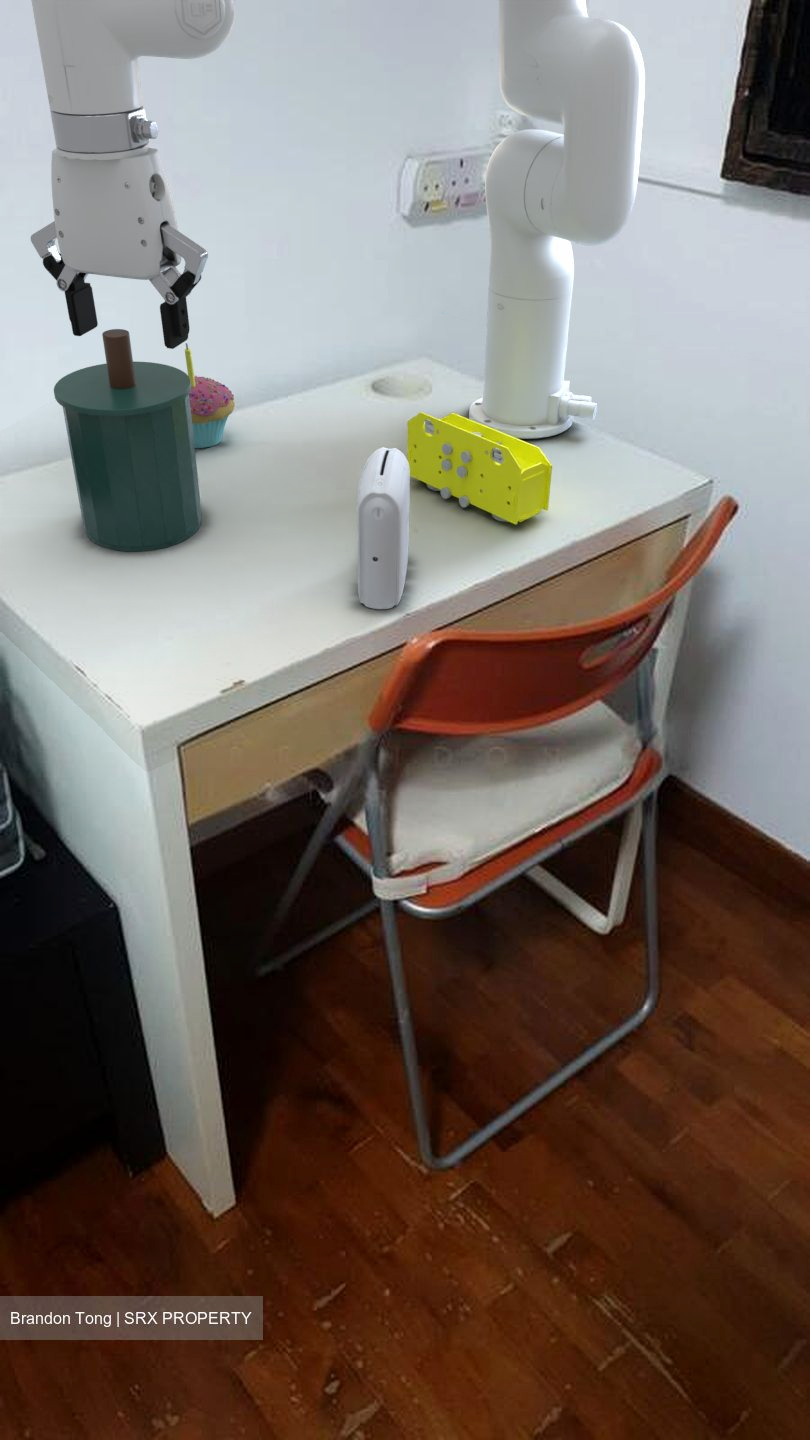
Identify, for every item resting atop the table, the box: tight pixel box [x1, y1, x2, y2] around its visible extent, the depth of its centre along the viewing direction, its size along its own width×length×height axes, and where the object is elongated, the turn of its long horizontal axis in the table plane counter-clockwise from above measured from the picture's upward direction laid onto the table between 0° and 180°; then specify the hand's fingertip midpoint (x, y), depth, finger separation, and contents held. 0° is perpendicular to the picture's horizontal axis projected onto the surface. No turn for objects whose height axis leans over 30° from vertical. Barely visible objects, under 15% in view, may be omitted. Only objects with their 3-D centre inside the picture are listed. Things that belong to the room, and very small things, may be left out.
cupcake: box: [184, 342, 236, 449], centre depth 130 cm, size 9×8×12 cm
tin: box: [62, 395, 203, 552], centre depth 112 cm, size 12×12×14 cm
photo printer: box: [356, 446, 411, 610], centre depth 103 cm, size 10×4×12 cm, turn 175°
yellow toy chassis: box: [406, 411, 553, 525], centre depth 119 cm, size 16×6×8 cm, turn 43°
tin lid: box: [53, 328, 191, 416], centre depth 106 cm, size 13×13×6 cm
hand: (130, 337), depth 106 cm, fingers open, 9 cm apart
